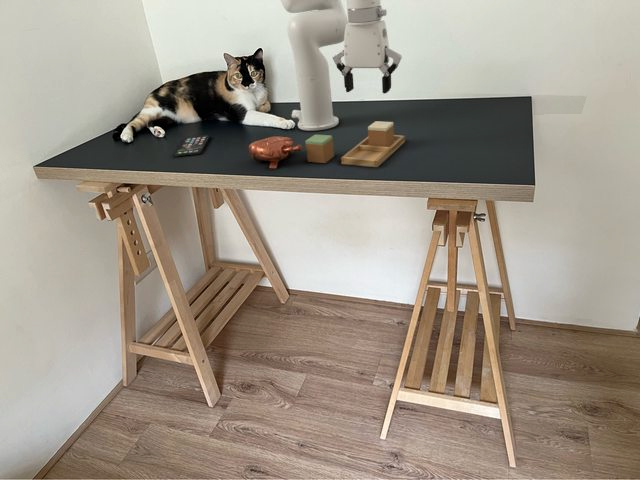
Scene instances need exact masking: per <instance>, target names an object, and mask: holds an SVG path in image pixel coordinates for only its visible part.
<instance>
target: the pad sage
mask: <svg viewBox="0 0 640 480" xmlns="http://www.w3.org/2000/svg"><path fill="white" fill-rule="evenodd" d="M305 149H306V157H307V162H308V163H309V162H310V163H317V164H326V163H328V162H329V161H330V160H331V159H333V158H334V157H335V151H334V140H333V135H328V134H327V135H326V134H314V135H312V136H310V137H309V138H308V139H306V140H305Z"/></svg>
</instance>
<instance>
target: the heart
mask: <svg viewBox="0 0 640 480" xmlns="http://www.w3.org/2000/svg"><path fill="white" fill-rule="evenodd" d="M302 149H303V147H302V145H301V144H298V145H296V146H295V145H294V141H293V139H292V138H291V137H288V136H269V137H267V138H263V139H259V140H256V141H253V142H252V143H250V144H249V145H248V152H249V154H250V155H251V159H252V160H253V161H257V162H264V161H265V162H270V163H269V167H268V168H269V169H277V168H278V164H279V162H281V161H284V160H285V159H287V158H288V157H290V156H291V155H292V154H294V152H300V151H301V152H302Z"/></svg>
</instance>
